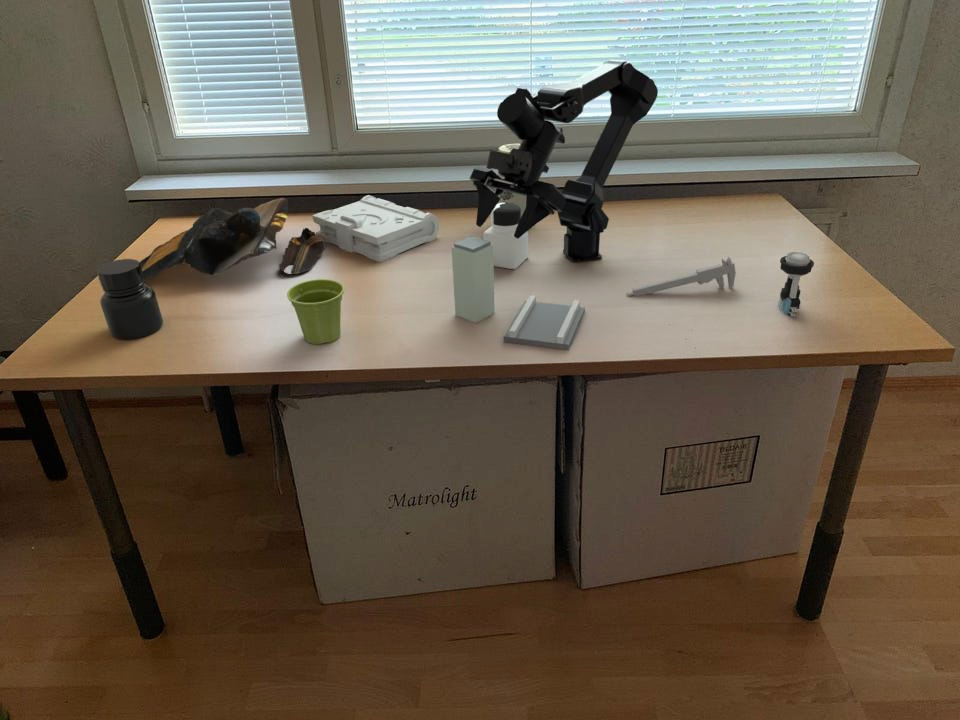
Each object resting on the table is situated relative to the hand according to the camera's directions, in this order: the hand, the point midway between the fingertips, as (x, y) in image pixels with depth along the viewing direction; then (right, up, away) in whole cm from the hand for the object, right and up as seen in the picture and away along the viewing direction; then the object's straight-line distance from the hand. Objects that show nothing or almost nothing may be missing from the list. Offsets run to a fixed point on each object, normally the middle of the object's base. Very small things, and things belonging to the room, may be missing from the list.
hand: (496, 231), depth 127 cm
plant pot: (-30, -19, -5) cm, 36 cm away
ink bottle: (-64, -18, 0) cm, 67 cm away
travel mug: (+5, +8, +39) cm, 41 cm away
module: (-4, -15, +1) cm, 15 cm away
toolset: (-57, -2, +27) cm, 63 cm away
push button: (+51, -14, -2) cm, 53 cm away
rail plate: (+8, -17, -5) cm, 20 cm away
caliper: (+35, -10, +6) cm, 37 cm away
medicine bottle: (+3, -3, +21) cm, 21 cm away
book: (-28, +5, +36) cm, 46 cm away
